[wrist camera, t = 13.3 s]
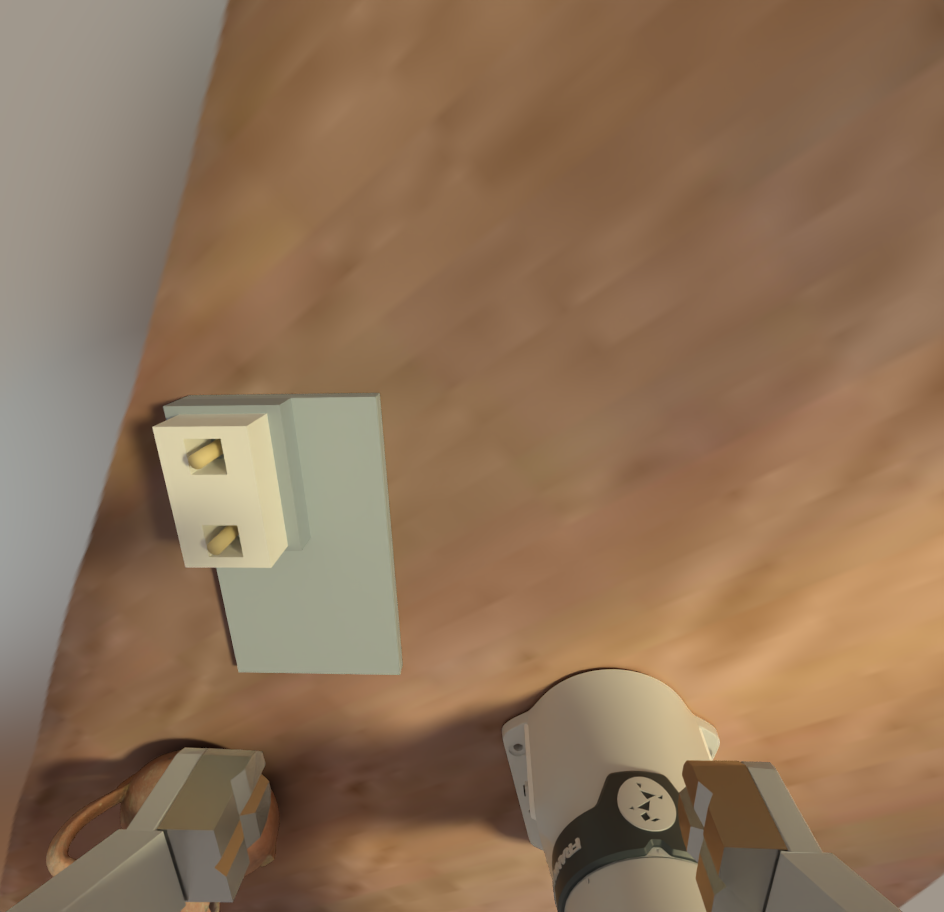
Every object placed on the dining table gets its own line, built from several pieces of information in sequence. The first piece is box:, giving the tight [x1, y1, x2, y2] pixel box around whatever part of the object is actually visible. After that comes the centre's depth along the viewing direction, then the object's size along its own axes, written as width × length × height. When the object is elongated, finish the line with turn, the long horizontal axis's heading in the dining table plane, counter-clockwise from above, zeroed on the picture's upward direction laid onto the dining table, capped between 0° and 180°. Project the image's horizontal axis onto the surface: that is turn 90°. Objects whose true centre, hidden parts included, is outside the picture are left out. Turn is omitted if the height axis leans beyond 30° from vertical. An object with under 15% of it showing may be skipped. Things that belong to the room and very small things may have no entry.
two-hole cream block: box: [152, 413, 288, 568], centre depth 36 cm, size 10×6×3 cm, turn 1°
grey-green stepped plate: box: [163, 393, 403, 675], centre depth 39 cm, size 24×14×7 cm, turn 1°
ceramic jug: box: [46, 750, 279, 912], centre depth 45 cm, size 18×14×14 cm
